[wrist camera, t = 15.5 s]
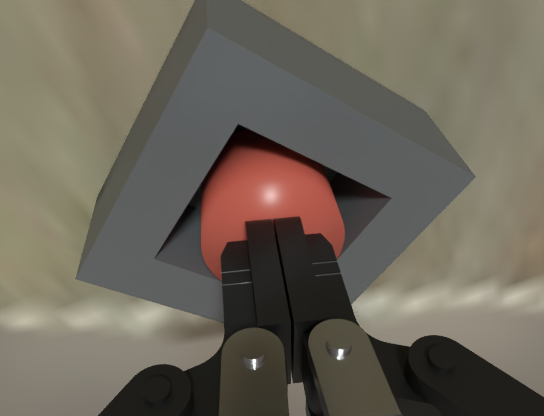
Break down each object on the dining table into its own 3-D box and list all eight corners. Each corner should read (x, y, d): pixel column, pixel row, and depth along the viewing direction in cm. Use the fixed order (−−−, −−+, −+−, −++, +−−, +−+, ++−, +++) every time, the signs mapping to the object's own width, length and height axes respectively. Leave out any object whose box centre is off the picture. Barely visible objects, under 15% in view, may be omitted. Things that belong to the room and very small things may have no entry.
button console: (425, 111, 17) (475, 176, 14) (292, 269, 21) (308, 348, 18) (205, -21, 14) (207, 27, 11) (97, 197, 18) (75, 278, 15)
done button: (348, 159, 16) (373, 218, 14) (281, 243, 18) (294, 307, 16) (239, 105, 14) (247, 161, 12) (179, 203, 16) (176, 268, 14)
